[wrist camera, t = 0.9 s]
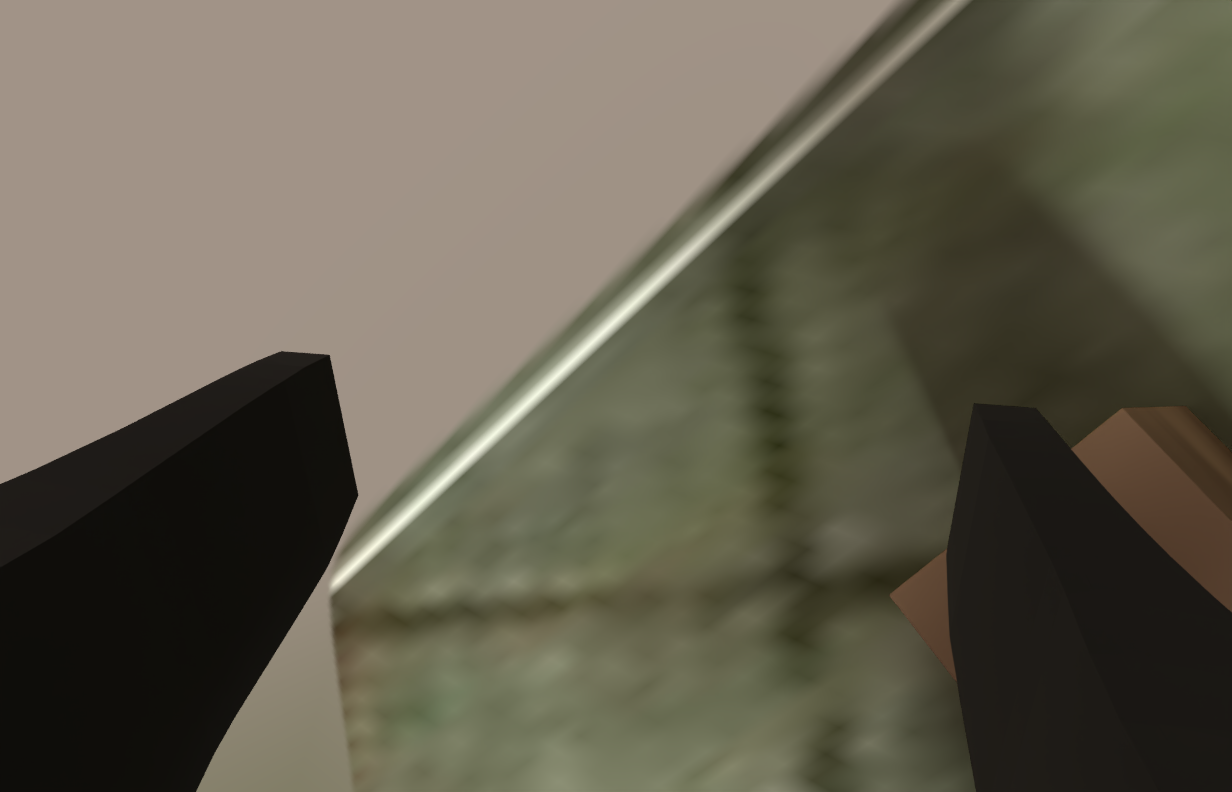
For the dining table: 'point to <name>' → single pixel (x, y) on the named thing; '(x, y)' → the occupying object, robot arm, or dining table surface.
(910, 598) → the walnut block
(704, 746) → the dining table surface
